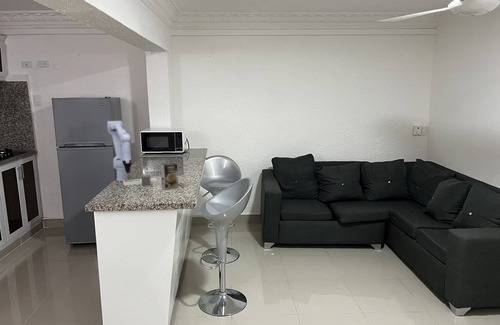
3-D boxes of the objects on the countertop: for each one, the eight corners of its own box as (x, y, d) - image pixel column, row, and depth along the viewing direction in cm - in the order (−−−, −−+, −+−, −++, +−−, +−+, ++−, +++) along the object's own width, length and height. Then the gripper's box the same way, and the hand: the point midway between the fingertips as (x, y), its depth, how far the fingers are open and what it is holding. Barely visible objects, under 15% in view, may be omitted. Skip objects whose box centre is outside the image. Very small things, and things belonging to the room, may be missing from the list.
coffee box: (165, 190, 244) (164, 165, 241) (161, 188, 249) (160, 164, 246) (178, 187, 249) (177, 163, 246) (174, 186, 254) (173, 162, 251)
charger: (143, 185, 255) (142, 175, 254) (150, 185, 256) (150, 175, 254) (142, 187, 250) (141, 177, 249) (149, 187, 251) (149, 177, 250)
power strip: (123, 183, 260) (122, 179, 260) (155, 181, 268) (155, 176, 268) (124, 186, 252) (123, 182, 251) (157, 183, 260) (157, 179, 259)
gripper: (119, 150, 257) (120, 170, 260) (120, 154, 244) (121, 174, 246) (130, 150, 260) (131, 169, 262) (131, 153, 247) (133, 173, 249)
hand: (127, 171), depth 255 cm, fingers open, 7 cm apart
